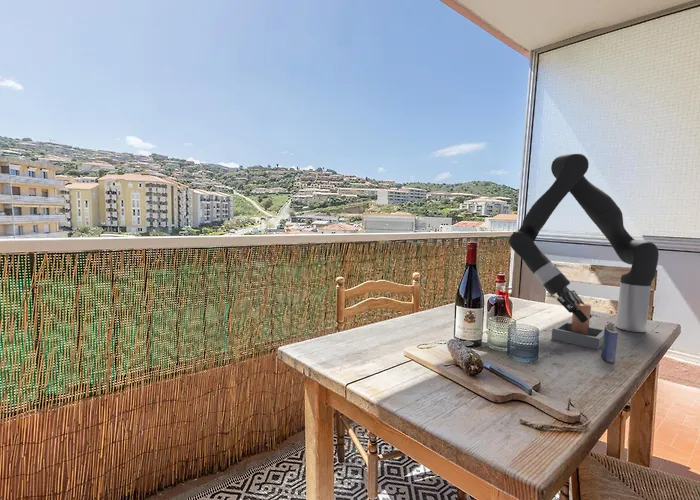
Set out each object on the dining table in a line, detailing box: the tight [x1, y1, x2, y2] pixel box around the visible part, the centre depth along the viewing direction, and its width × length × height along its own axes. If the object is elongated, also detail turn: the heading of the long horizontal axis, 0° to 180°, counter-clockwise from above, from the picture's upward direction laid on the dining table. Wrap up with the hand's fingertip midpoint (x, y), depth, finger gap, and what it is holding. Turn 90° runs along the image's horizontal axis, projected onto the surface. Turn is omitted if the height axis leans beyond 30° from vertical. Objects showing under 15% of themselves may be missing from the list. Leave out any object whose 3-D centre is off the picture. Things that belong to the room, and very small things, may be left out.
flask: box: [600, 321, 619, 364], centre depth 111 cm, size 9×3×11 cm, turn 152°
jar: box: [570, 303, 592, 334], centre depth 127 cm, size 5×5×9 cm
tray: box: [551, 321, 604, 351], centre depth 127 cm, size 13×13×4 cm
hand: (587, 319), depth 125 cm, fingers closed on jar, 5 cm apart
